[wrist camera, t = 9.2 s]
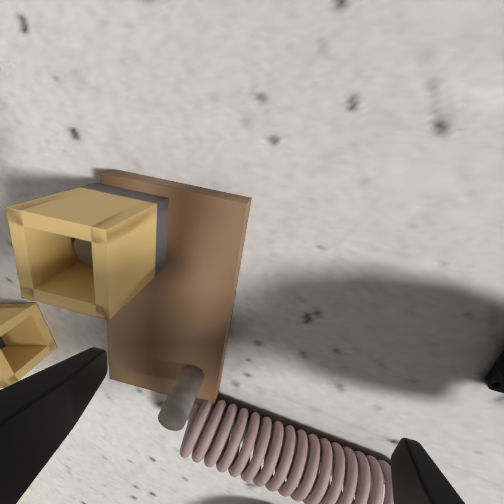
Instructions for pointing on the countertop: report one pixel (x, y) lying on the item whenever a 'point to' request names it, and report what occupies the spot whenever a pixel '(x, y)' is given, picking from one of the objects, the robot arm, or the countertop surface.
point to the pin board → (180, 297)
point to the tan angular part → (22, 341)
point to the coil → (284, 458)
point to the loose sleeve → (103, 246)
